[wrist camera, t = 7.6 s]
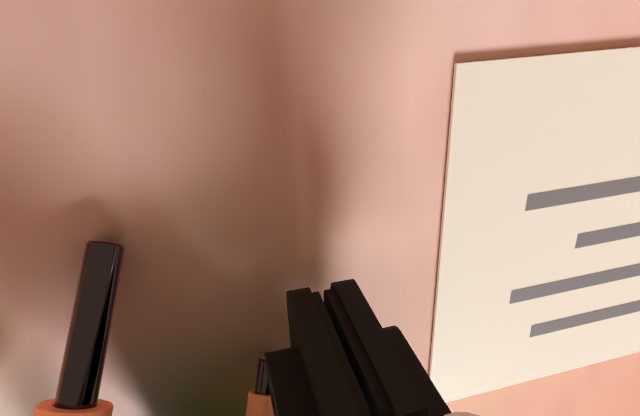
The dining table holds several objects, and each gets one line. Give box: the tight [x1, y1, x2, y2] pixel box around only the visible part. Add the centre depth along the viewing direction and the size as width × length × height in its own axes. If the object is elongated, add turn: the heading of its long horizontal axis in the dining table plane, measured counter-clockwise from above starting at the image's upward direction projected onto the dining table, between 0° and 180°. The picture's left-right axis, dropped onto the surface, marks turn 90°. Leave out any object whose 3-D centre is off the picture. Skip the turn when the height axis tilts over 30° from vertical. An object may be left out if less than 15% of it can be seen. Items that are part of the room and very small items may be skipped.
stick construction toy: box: [34, 241, 274, 416], centre depth 10 cm, size 12×7×8 cm
